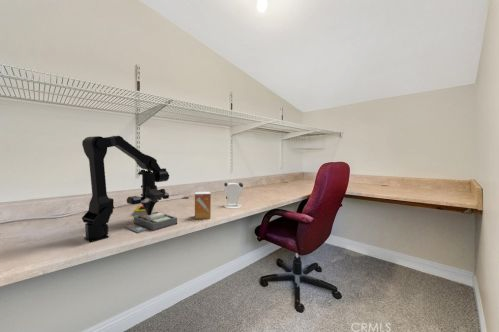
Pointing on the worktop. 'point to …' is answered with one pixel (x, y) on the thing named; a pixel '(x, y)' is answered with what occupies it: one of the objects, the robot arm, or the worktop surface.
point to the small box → (202, 205)
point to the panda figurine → (233, 195)
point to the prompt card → (135, 228)
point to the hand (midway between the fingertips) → (149, 215)
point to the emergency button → (140, 211)
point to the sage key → (161, 219)
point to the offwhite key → (154, 216)
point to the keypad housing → (155, 226)
